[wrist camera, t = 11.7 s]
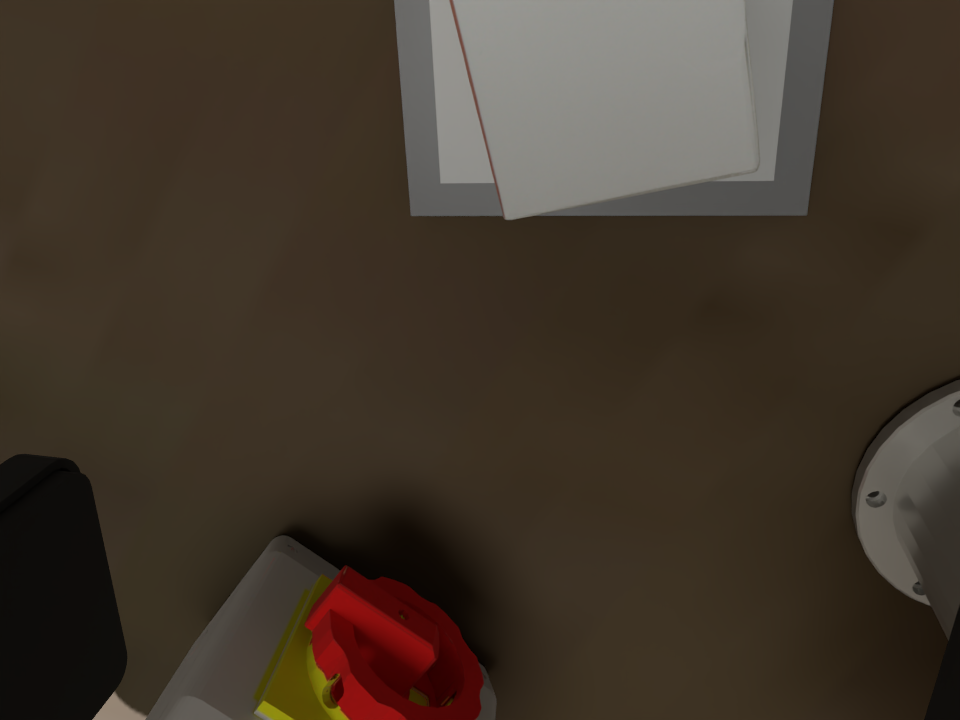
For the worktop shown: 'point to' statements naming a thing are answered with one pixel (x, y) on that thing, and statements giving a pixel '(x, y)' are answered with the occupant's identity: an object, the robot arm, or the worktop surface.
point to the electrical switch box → (326, 651)
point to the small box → (608, 96)
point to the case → (769, 191)
